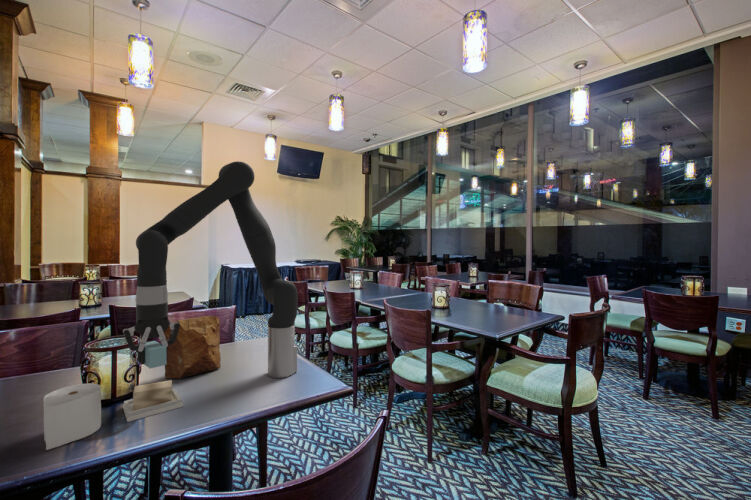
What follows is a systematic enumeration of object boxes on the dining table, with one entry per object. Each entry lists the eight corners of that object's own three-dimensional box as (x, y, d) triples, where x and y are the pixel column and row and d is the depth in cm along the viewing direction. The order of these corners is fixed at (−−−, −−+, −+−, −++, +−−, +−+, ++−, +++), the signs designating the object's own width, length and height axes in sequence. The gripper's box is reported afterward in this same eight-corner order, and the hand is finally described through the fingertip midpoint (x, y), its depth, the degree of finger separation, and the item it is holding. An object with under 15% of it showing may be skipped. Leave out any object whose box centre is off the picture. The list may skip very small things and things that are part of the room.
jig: (175, 394, 107) (175, 388, 106) (183, 406, 99) (183, 399, 99) (123, 407, 98) (123, 400, 98) (127, 421, 90) (127, 414, 90)
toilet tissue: (100, 416, 93) (99, 379, 93) (103, 435, 84) (102, 395, 84) (45, 430, 86) (44, 390, 86) (42, 453, 77) (41, 408, 77)
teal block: (154, 357, 103) (154, 340, 102) (166, 364, 97) (166, 346, 97) (139, 361, 99) (139, 343, 99) (150, 368, 94) (150, 350, 94)
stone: (219, 364, 133) (218, 312, 132) (223, 373, 124) (223, 317, 123) (162, 373, 123) (161, 317, 122) (162, 384, 114) (162, 323, 113)
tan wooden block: (172, 396, 103) (171, 380, 103) (171, 403, 99) (171, 386, 98) (135, 403, 98) (134, 386, 98) (133, 411, 94) (133, 393, 94)
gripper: (122, 306, 90) (123, 371, 91) (183, 300, 100) (184, 359, 100) (119, 302, 96) (120, 363, 96) (177, 297, 105) (178, 353, 106)
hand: (152, 361), depth 98 cm, fingers closed on teal block, 4 cm apart
